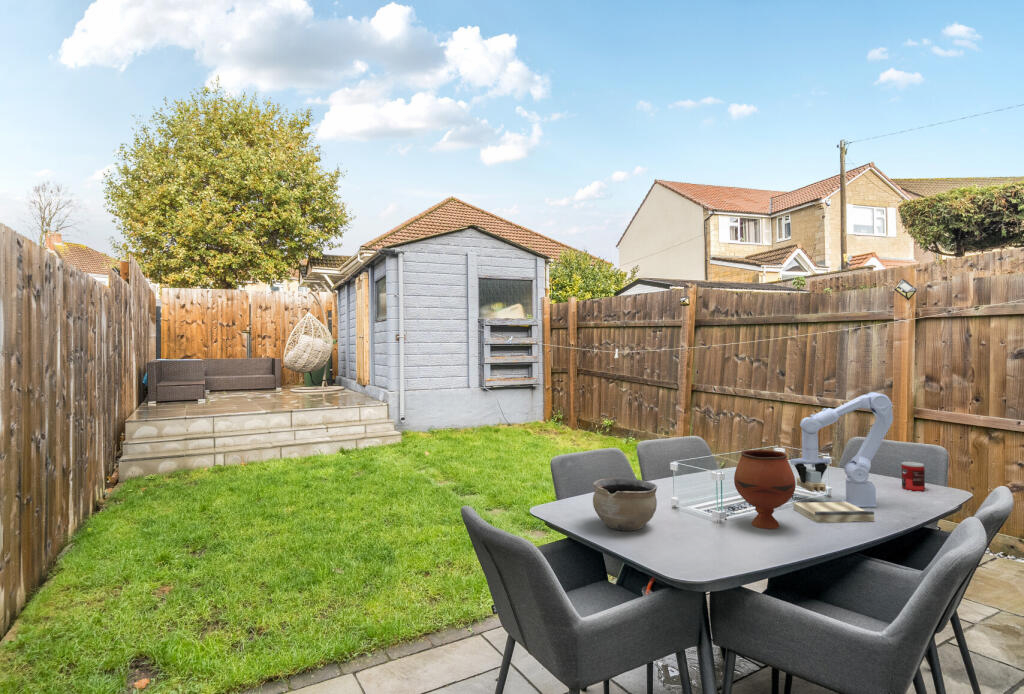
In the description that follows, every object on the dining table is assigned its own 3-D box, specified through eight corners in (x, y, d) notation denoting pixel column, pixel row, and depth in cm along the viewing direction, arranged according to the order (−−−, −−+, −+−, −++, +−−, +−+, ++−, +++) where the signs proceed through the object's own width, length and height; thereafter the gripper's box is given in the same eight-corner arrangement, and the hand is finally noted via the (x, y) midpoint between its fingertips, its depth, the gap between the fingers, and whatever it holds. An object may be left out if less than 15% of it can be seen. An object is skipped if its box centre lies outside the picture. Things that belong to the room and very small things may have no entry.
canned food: (905, 486, 241) (904, 460, 241) (927, 489, 235) (926, 463, 235) (899, 489, 236) (898, 463, 236) (921, 492, 230) (921, 466, 230)
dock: (846, 508, 209) (846, 499, 209) (874, 521, 193) (874, 511, 193) (793, 509, 209) (793, 500, 209) (816, 522, 193) (816, 512, 193)
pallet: (810, 484, 225) (810, 477, 225) (825, 491, 214) (825, 483, 214) (796, 484, 225) (796, 477, 225) (811, 491, 214) (811, 484, 214)
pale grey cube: (815, 480, 219) (815, 470, 219) (821, 482, 215) (821, 472, 215) (805, 480, 219) (805, 470, 219) (811, 483, 215) (810, 472, 215)
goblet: (722, 521, 197) (721, 450, 197) (764, 514, 203) (763, 446, 204) (765, 537, 179) (764, 460, 179) (809, 529, 186) (808, 455, 186)
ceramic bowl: (579, 526, 194) (579, 482, 194) (619, 513, 208) (619, 473, 208) (631, 542, 177) (630, 495, 177) (671, 527, 191) (670, 483, 191)
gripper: (822, 446, 223) (823, 479, 223) (786, 446, 223) (787, 480, 223) (832, 449, 216) (833, 484, 216) (795, 449, 216) (796, 484, 216)
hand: (810, 482), depth 219 cm, fingers closed on pallet, 5 cm apart
